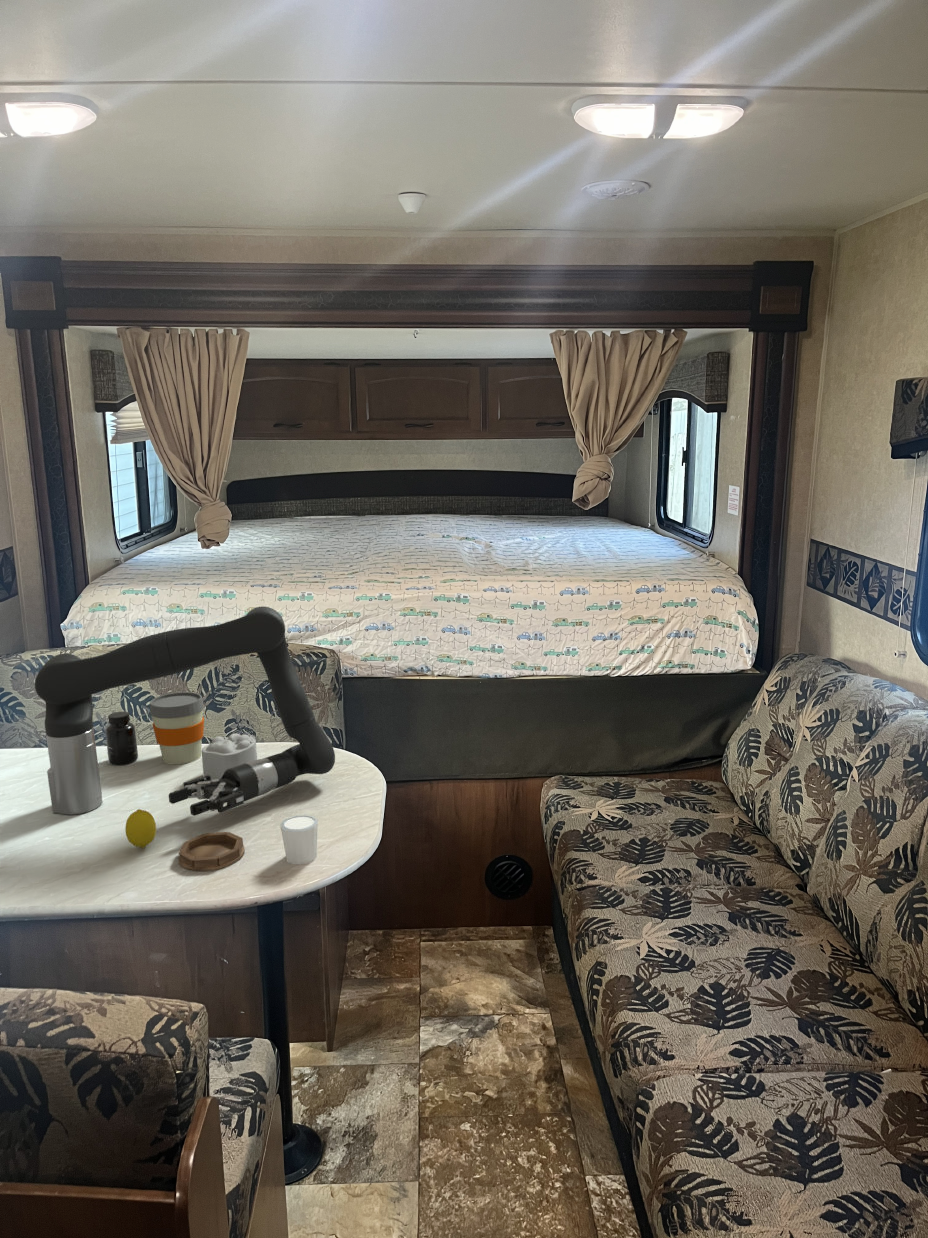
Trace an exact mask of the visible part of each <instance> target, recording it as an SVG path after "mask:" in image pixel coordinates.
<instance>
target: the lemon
mask: <svg viewBox="0 0 928 1238" xmlns="http://www.w3.org/2000/svg"><path fill="white" fill-rule="evenodd" d="M124 830H125V836H126V839H127V840H128V843H130V844H131V845H133V847H138V848H140V849H145V848H146V847H147V846H148V845H150V844H151V843H152V842H153V841H154V839H155V837H156V834H157V825H156V821H155V818H154V816H153V815H152V814H151V813H150V812H148V811H146V810H143V809H139V808H138V809H136V811H134V812H132V813H131V814H130V815H129V816H128V817H127V818H126V822H125V828H124Z"/></svg>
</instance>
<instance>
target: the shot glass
mask: <svg viewBox="0 0 928 1238" xmlns="http://www.w3.org/2000/svg"><path fill="white" fill-rule="evenodd" d="M318 824H319V820H318V819H317V818H316V816H312V815H307V814H302V815H301V814H299V815H294V816H290V817H288V818H285V819H284V820H283V821H282V822H280V830H281V835H282V841H283V848H284V852H285V858H286V859H285V860H286V861H287V862H288V863H290V864H293V865H305V864H309V863H311V862H313V861H315V859H316V858H317V857H318V856H317V855H318V831H319V830H318V827H319V825H318Z"/></svg>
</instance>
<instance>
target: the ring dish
mask: <svg viewBox="0 0 928 1238" xmlns="http://www.w3.org/2000/svg"><path fill="white" fill-rule="evenodd" d="M243 839H244V838H243V837H241V836H239V835H236V834H234V833H232V832H230V831H217V832H205V833H202V834H200V835H197V836H195V837H192V838H189V840H186V841H184V842H183V844H182V846H181V847H180V850H179V852H178V864H179V865H180V866H181V867H182V868H183V869H185V870H188V871H193V872H210V871H211V872H212V871H217V870H221V869H224V868H226V867H227V868H228V867H230V866H232V865H234V864H235V863H237V862H239V861H240V860H241V859H242V858H243V857H244V855H245V854H246V853H245V852H246V848H245V845H244V840H243Z"/></svg>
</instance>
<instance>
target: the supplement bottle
mask: <svg viewBox="0 0 928 1238" xmlns="http://www.w3.org/2000/svg"><path fill="white" fill-rule="evenodd" d="M130 716H131V715H130V712H128V711H117V712H116V711H115V712H112V713H110V714H108V716H107V718H108V721H107V722H108V725H107V726H106V728H105V729H104V730H105V732H104V733H105V741H106V747H107V749H106V751H107V757H108V758H107V759H108V762H109V764H110V765H112V766H126V765H130V764H133V763H134V762H136V761H137V760H138V759H139V751H138V743H137V742H138V741H137V733H136V732H137V731H136V725H135V724H134V723H133V722H131V717H130Z"/></svg>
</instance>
